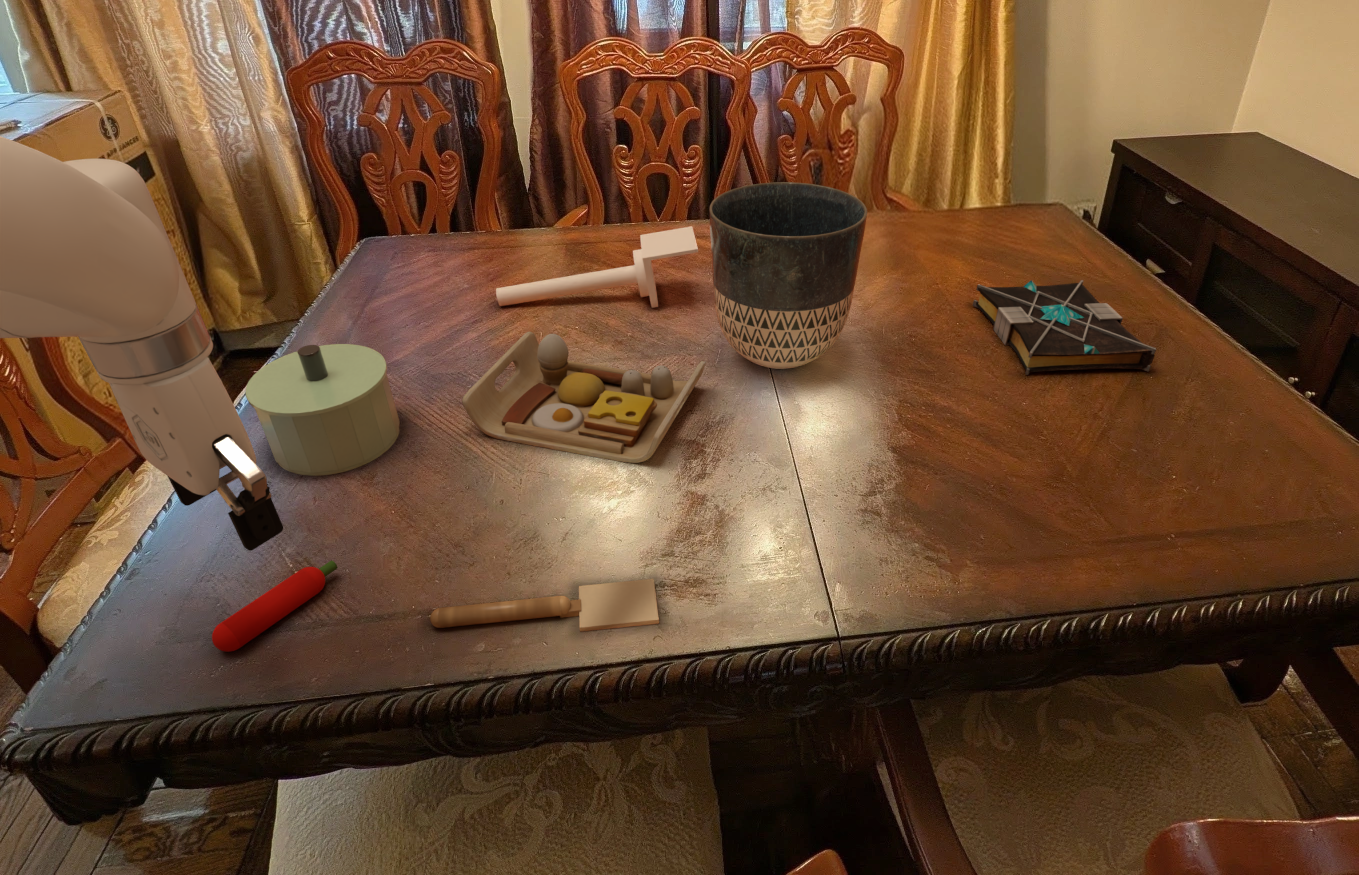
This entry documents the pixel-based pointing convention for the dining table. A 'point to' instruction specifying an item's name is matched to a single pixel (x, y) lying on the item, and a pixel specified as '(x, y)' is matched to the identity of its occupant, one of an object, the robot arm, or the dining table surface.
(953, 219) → the dining table surface
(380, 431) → the pot
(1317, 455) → the dining table surface
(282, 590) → the chili pepper
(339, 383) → the pot lid
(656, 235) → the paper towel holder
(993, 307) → the book
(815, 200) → the planter
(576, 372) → the toy food set
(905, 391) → the dining table surface
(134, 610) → the dining table surface
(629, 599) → the spatula
